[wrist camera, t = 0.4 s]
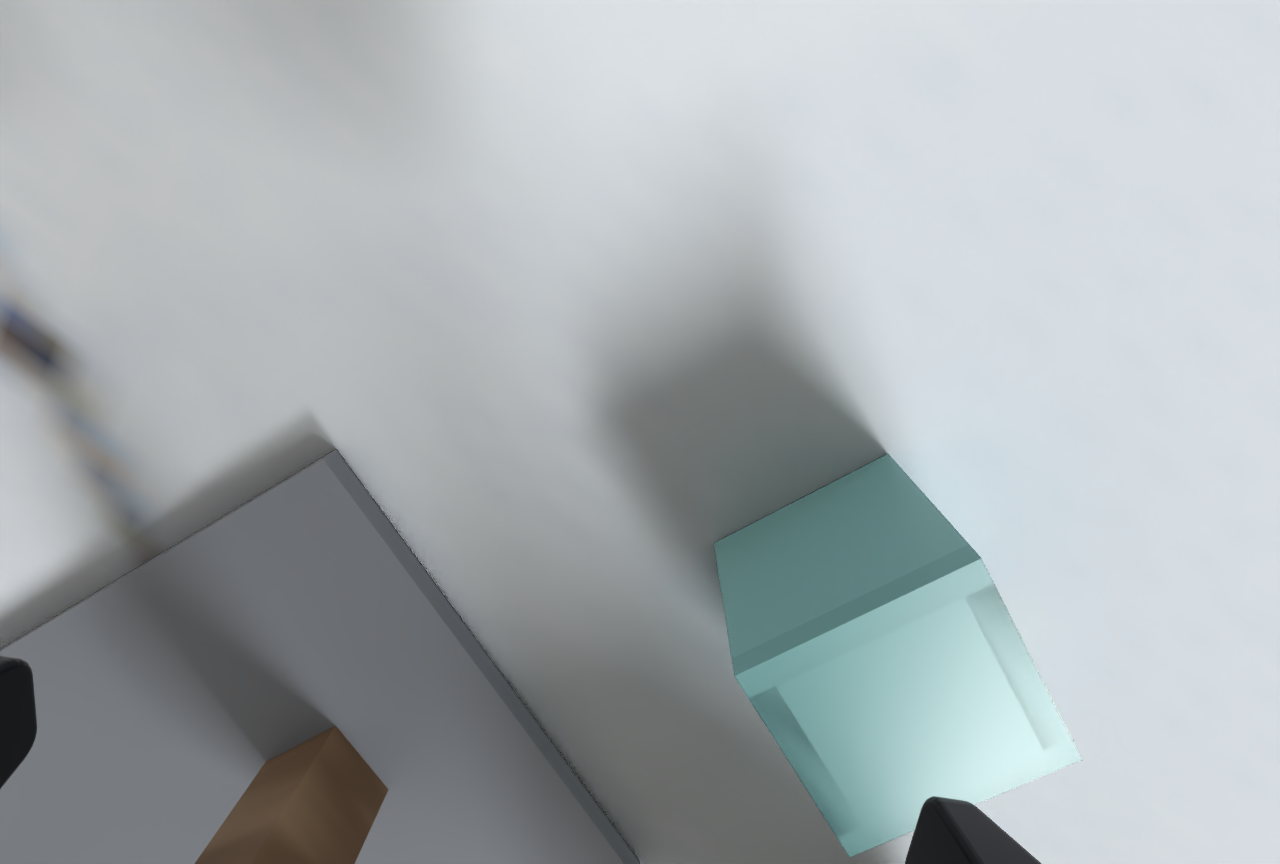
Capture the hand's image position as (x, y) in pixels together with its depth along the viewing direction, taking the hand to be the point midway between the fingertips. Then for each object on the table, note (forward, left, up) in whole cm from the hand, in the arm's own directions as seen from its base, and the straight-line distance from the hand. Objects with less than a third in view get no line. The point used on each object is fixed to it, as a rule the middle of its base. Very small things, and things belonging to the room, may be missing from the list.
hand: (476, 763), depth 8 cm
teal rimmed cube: (-7, -4, -13) cm, 15 cm away
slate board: (-5, +19, -13) cm, 24 cm away
